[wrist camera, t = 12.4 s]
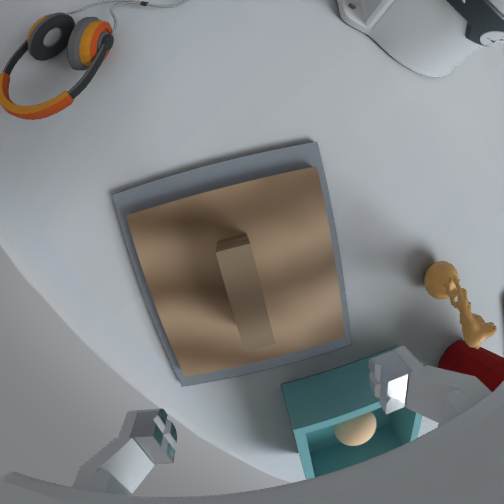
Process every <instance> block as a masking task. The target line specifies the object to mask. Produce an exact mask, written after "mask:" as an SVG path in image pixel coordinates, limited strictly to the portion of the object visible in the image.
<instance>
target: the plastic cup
mask: <svg viewBox="0 0 504 504" xmlns="http://www.w3.org/2000/svg"><path fill="white" fill-rule="evenodd" d="M439 368H441V369H445V370H449V371H453V372H458V373H462V374H467V375H471V376H476V377H477V378H478V379H479V380H480V381H481V382H482V383H483V384H484V385H485V386H486V387H487V388H488V389H489V390H490V391H491V392H493V391H495V390H496V389H497V388H499V387H500V386H501V385H503V384H504V358H503V357H501V356H499V355H496V354H494V353H492V352H490V351H488V350H486V349H484V348H482V347H479V348H478V349H476V348H475V347H470V346H468V345H467V344H466V342H465V341H463V340H461V341H457V342H455V343H454V344H452V345H451V346H450V347H449V348H448V349H447V350H446V352H445V353H444V355H443V356H442V358H441V360H440V363H439Z"/></svg>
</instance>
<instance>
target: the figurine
mask: <svg viewBox="0 0 504 504" xmlns="http://www.w3.org/2000/svg"><path fill="white" fill-rule="evenodd" d="M459 281H460V279H459V278H458V273H457V271H456V269H455V267H454V266H453V265H452V264H450V263H448V262H445V261H439V262H436V263H434V264H432V265H431V266H430V267H429V268H428V270H427V272H426V274H425V279H424V282H425V287H426V290H427V291H428V293H429V294H430V295H431V296H432V297H434V298H437V299H445V298H448V297H450V301H451V305H453V306H454V307H455V308H458V310H459V311H460V323H461V325H462V332H463V337H464V340H465V342H466V344H467V345H468V346H470V347H475V348H476V349H478V348H479V347H480V345H481V343H482V342H483V341H484V340H485V339H487V338H488V337H490V336H492V335H494V334H495V333H496V326H494V323H492V322H490V323H485V321H484V320H483V319H482V317H481V316H479V315H476V314H473V313H471V303H470V302H469V301H468V299H467V291H466V290H465V289H464V288H461V287H460V285H459ZM456 289H457V290H456ZM457 295H458V301H457V302H455V300H454V297H456V296H457Z"/></svg>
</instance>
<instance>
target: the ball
mask: <svg viewBox="0 0 504 504" xmlns="http://www.w3.org/2000/svg"><path fill="white" fill-rule="evenodd" d="M375 430H376V418H375V416H374V414H373V412H372V411H371V412H368V413H365V414H363V415H360V416H357V417H355V418H352V419H349V420H346V421H344V422H341V423H338V424H335V425H334V432H335V435H336V437H337V439H338V440H339V441H340V442H342V443H343V444H345V445H349V446H357V445H361V444H363V443H365V442H367V441H368V440H369V439H370V438H371V437H372V436H373V434H374V432H375Z"/></svg>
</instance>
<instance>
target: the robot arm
mask: <svg viewBox="0 0 504 504" xmlns="http://www.w3.org/2000/svg"><path fill="white" fill-rule="evenodd" d="M337 3H338V7H339V12H340V16H341V18H342V19H343V21H344V22H346V23H347V24H348V25H350V26H352V27H354V28H355V29H357V30H359V31H361V32H363V33H365V34H367V35H369V36H370V37H371V38H372V39H374V40H375V41H376V42H377V43H378V44H379V45H380V46H381V47H382V48H383V49H384V50H385V51H386V52H387V53H388V54H389V55H390V56H392V57H393V58H394V59H395V60H397V61H398V62H400V63H401V64H402V65H404V66H406V67H407V68H409V69H411V70H413V71H415V72H417V73H419V74H422V75H425V76H429V77H443V76H446V75H448V74H450V73H451V72H452V71H453V70H454V69H455V67H456V66H457V65H458V64H459V63H461V62H462V61H463V60H464V59H465V58H467V57H468V56H469V55H471V54H472V53H474V52H475V51H477V50H479V49H480V48H482V47H484V46H493V45H498V44H501V43H504V0H337ZM349 6H350V7H352V8H353V9H352V8H350V7H349ZM368 365H369V369H370V370H371V373H370V374H369V384H370V388H371V390H372V393H373V394H374V396H375V397H378V398H379V404H380V406H381V407H382V409H383V410H384V412H385V414H388V413H391V412H393V411H396V410H398V409H401V408H403V407H405V406H406V408H408V409H410V410H412V411H414V412H416V413H418V414H420V415H423V416H425V417H427V418H429V419H431V420H434V421H436V422H438V423H439V425H438V427H437V428H436V429H434V430H432V431H430V432H428V433H426V434H424V435H422V436H421V437H419V438H417V439H415V440H413V441H411V442H408V443H406V444H404V445H402V446H400V447H398V448H395V449H393V450H391V451H389V452H386V453H384V454H382V455H379V456H377V457H374V458H372V459H369V460H367V461H364V462H361V463H359V464H356V465H353V466H350V467H347V468H344V469H341V470H338V471H335V472H332V473H328V474H325V475H322V476H318V477H315V478H311V479H307V480H303V481H299V482H295V483H290V484H286V485H281V486H276V487H271V488H265V489H260V490H253V491H247V492H239V493H231V494H221V495H209V496H193V497H192V496H191V497H153V496H152V497H150V496H134V495H133V494H132V493H133V492H134V490H135V489H136V488H137V486H138V485H139V484H140V483H141V482H142V481H143V479H144V478H145V477H146V476H147V474H148V473H149V472H150V471H151V469H152V468H153V467H154V464H169V463H173V462H174V455H175V450H174V449H173V446H174V445H175V444H176V442H177V433H176V429H175V426H174V425H173V423H172V422H171V421H169V420H168V419H167V413H166V412H165V410H164V409H148V410H134V411H129V412H128V413H127V414H126V417H125V420H124V423H123V426H122V428H121V431H120V434H119V437H118V438H115V439H113V440H112V441H111V442H110V443H109V444H107V445H106V446H105V447H104V448H103V449H102V450H100V451H99V452H98V453H97V454H95V455H94V456H93V457H92V458H90V459H89V460H88V461H87V462H86V463H84V464H83V465H82V466H80V468H79V470H78V473H77V476H76V478H75V481H74V483H73V486H72V487H69V486H64V485H60V484H56V483H51V482H47V481H44V480H40V479H37V478H33V477H30V476H27V475H24V474H21V473H18V472H8V473H6V474H4V475H2V476H0V504H504V384H503V385H501V386H500V387H499V388H497V389H496V390H495V391H493V392H491V391H490V390H489V389H488V388H487V387H486V386H485V385H484V384H483V383H482V382H481V381H480V380H479V379H478V378H477V377H476V376H471V375H467V374H462V373H458V372H453V371H449V370H445V369H441V368H437V367H432V366H428V365H426V366H423V365H422V364H421V363H420V362H419V361H418V359H417V358H416V357H415V356H414V355H413V354H412V353H411V352H410V351H409V350H408V349H407V348H406V347H405V346H400V347H398V348H396V349H394V350H392V351H389V352H387V353H384V354H382V355H379V356H377V357H374V358H371V359H369V362H368Z"/></svg>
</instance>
